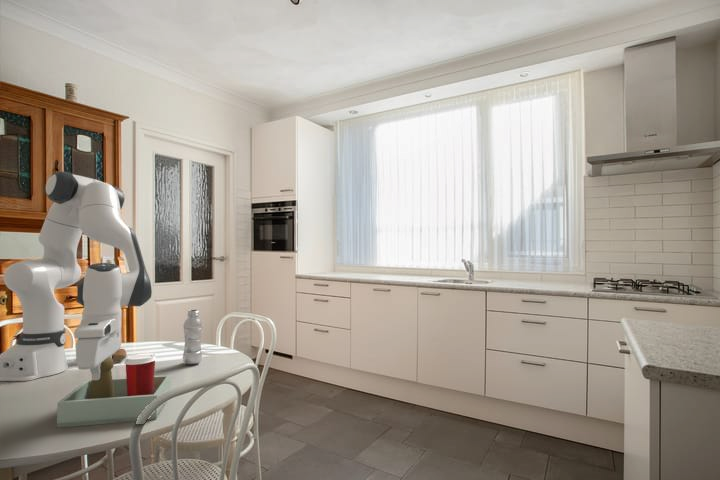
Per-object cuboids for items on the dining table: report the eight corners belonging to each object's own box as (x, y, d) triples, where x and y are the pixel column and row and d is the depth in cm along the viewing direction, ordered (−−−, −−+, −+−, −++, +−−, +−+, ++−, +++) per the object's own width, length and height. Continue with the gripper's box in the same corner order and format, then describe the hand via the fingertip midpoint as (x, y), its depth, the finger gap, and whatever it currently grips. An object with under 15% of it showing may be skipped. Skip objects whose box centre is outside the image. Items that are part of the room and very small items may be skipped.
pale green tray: (56, 427, 93) (57, 402, 93) (85, 401, 108) (86, 380, 109) (156, 419, 98) (157, 395, 99) (170, 395, 114) (171, 375, 114)
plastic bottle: (197, 366, 141) (198, 312, 141) (179, 366, 141) (180, 311, 141) (204, 361, 147) (206, 309, 148) (187, 360, 148) (188, 309, 148)
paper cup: (159, 401, 109) (160, 352, 110) (151, 411, 102) (151, 358, 103) (129, 404, 108) (129, 354, 108) (118, 415, 100) (119, 360, 101)
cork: (101, 405, 99) (102, 362, 99) (81, 402, 100) (82, 360, 100) (120, 396, 105) (121, 355, 105) (101, 394, 106) (102, 354, 106)
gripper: (103, 317, 112) (102, 364, 112) (70, 333, 92) (69, 390, 92) (128, 316, 114) (126, 363, 113) (100, 331, 94) (99, 388, 94)
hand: (100, 375), depth 103 cm, fingers closed on cork, 4 cm apart
